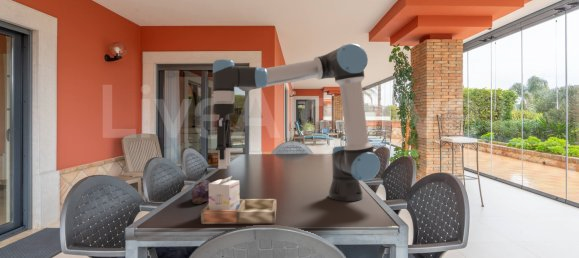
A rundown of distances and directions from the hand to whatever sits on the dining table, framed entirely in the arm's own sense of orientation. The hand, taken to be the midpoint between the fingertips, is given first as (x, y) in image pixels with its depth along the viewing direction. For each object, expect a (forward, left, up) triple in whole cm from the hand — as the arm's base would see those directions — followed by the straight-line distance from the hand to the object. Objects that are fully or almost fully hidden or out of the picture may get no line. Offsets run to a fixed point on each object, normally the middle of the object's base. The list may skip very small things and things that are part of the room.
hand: (224, 166), depth 118 cm
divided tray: (-6, 0, -18) cm, 19 cm away
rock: (+14, -21, -18) cm, 31 cm away
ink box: (0, 0, -17) cm, 17 cm away
